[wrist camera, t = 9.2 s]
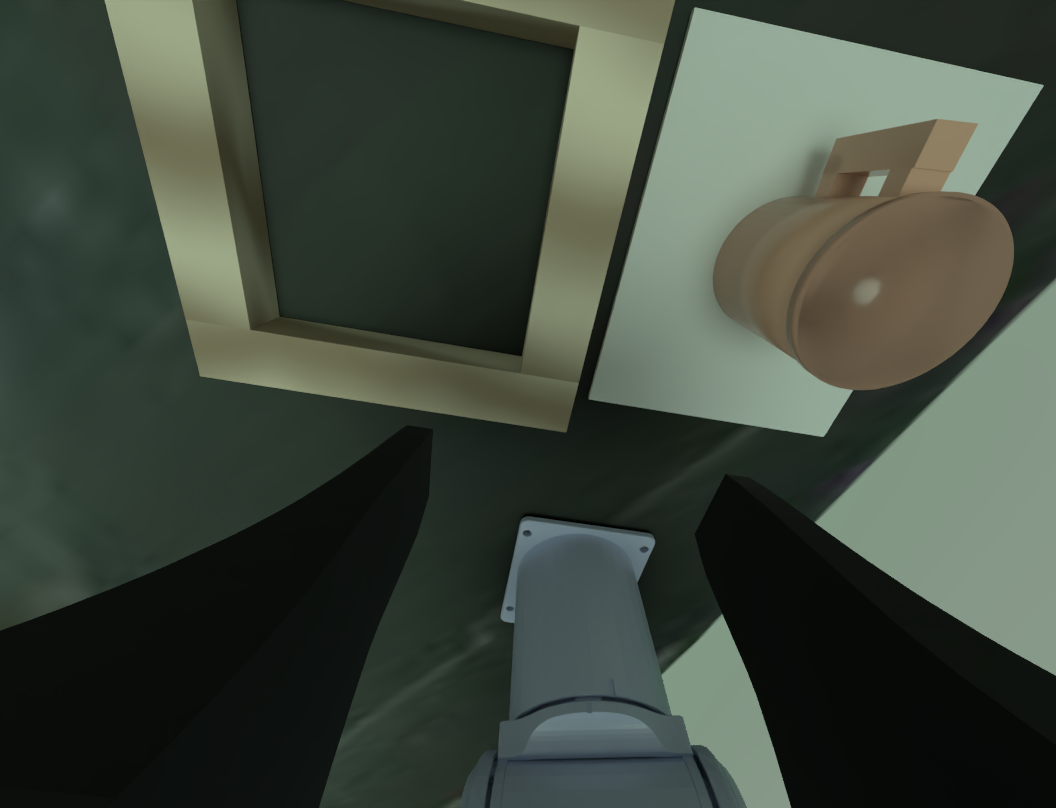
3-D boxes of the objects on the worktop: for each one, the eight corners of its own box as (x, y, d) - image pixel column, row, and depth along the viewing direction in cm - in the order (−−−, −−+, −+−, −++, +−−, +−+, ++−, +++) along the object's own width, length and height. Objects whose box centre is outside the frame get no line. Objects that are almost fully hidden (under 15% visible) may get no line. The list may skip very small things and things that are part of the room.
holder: (563, 411, 19) (566, 432, 18) (232, 359, 18) (200, 376, 17) (671, -40, 12) (695, -81, 10) (124, -166, 11) (44, -237, 9)
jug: (694, 322, 17) (764, 381, 12) (751, 136, 14) (884, 99, 8) (811, 334, 17) (934, 398, 12) (895, 153, 14) (1118, 126, 8)
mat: (819, 433, 20) (823, 436, 19) (588, 396, 19) (588, 399, 19) (1033, 87, 13) (1043, 85, 13) (691, 11, 12) (695, 7, 12)
